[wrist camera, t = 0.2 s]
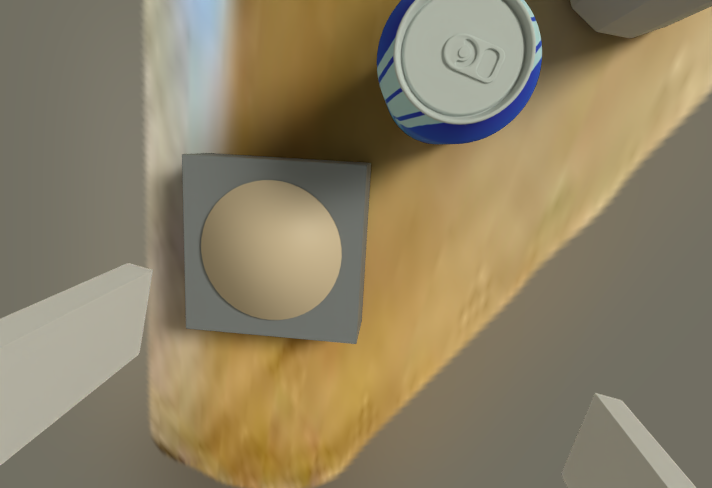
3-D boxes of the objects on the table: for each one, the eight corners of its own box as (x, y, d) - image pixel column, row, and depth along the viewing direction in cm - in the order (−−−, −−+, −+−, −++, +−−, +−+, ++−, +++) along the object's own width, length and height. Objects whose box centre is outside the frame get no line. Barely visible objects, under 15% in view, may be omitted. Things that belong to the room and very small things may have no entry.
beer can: (414, 162, 39) (422, 174, 23) (367, 68, 38) (343, 15, 22) (509, 112, 37) (586, 89, 22) (463, 13, 36) (510, -87, 21)
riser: (208, 153, 40) (180, 154, 35) (371, 162, 39) (366, 165, 34) (210, 307, 43) (184, 329, 38) (361, 320, 42) (355, 345, 37)
